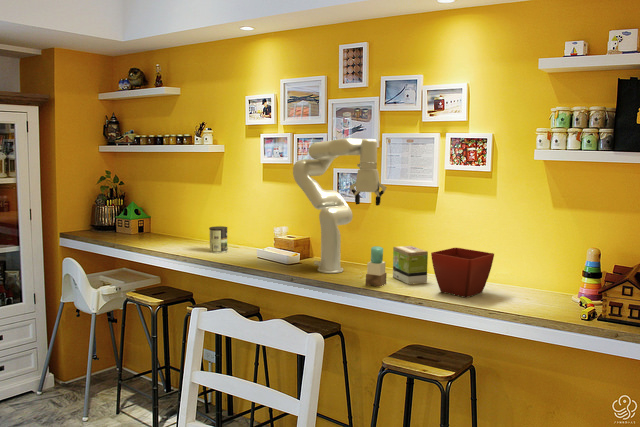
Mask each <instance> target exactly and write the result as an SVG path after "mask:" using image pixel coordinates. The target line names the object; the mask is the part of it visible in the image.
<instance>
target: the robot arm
mask: <svg viewBox="0 0 640 427" xmlns="http://www.w3.org/2000/svg"><path fill="white" fill-rule="evenodd" d="M308 154H309V156H310V157H311V159H310V158H309V159H307V158H306V159H304V158H303V159H299V160H297V161H295V162H294V164H293V166H292V175H293V179H294V181H295V183H296V184H297V186H298V187H299V188H300V189H301V191H303V193H304V194H305V196H306V197H307V199H308V201H309V203H311V204H312V206H313V207H314V209H316V210H320V212H319V214H318V216H319V217H318V218H319V225H320V260H314V261H313V265H314V266H318V268H317V272H319V273H323V274H338V273H343V272H344V267H341V246H342V245H341V243H342V240H341V239H342V238H341V236H342V235H341V231H340V229H339V227H338V226H344V225H348V224H350V223H351V222H352V220H353V217H354V216H353V211H352V209H351V208H350V207H351V206H349V204H348V203H347V201H346V200H345V199H344V197H343V196H342V194H340V192H338V191H337V190H334V189H323V187H322V186H321V185H320V184H319V182H318V181H317V180H316V179H314V178H313V177H320V176H322V175H324V174H325V173H326V171H327V170H328V169H329V167H331V164H332V163H333V161H334V160H335V159H337V158H338V157H340V156H341V157H342V156H359V163H357V165H356V167H357V168H359V169H357V174H356V178H355V179H356V180H355V182H354V183H352V184H350V185H349V188H350V190H351V192H352V194H353V195H354V202H355V205H360V203H361V196H360V194H361V193H374V194H375V195H376V196H375V206H380V204H381V200H382V199H381V197H382V196H383V194H385V192H386V190H387V185H384V184H383V183H381V182H380V174H379V170H378V165H377V162H378V141H377V139H375V138H351V137H350V138H348V137H347V138H339V139H332V140H326V141H318V142H314V143H312V144H311V145H310V146H309V148H308ZM380 188H381V191H380Z"/></svg>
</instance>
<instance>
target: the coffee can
mask: <svg viewBox="0 0 640 427" xmlns="http://www.w3.org/2000/svg"><path fill="white" fill-rule="evenodd" d="M228 249H229V248H228V226H220V225H219V226H210V227H209V252H210V253H212V254H223V253H228V252H229V251H228Z"/></svg>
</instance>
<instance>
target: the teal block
mask: <svg viewBox="0 0 640 427" xmlns="http://www.w3.org/2000/svg"><path fill="white" fill-rule="evenodd" d="M383 257H384V248H383V247H382V246H371V248H370V262H372V263H376V264H379V263H382V262H384V261H383Z"/></svg>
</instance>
